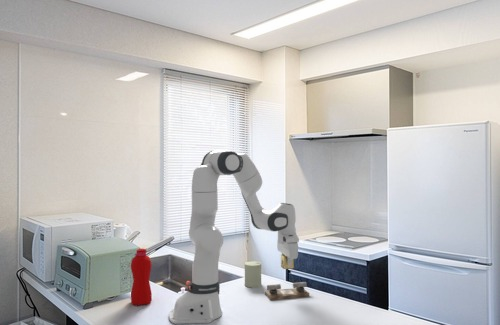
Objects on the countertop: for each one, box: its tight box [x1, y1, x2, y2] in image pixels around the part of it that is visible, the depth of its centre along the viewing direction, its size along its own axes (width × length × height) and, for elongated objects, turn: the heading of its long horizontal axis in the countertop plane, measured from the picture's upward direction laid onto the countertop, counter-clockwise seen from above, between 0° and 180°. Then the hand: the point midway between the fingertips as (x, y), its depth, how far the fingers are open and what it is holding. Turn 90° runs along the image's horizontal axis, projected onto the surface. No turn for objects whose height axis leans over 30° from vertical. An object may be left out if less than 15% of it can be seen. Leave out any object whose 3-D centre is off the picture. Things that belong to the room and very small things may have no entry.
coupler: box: [280, 254, 295, 270], centre depth 189 cm, size 5×4×6 cm
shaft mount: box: [264, 281, 310, 301], centre depth 189 cm, size 20×9×6 cm, turn 104°
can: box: [244, 260, 263, 289], centre depth 205 cm, size 9×9×12 cm
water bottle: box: [126, 248, 153, 306], centre depth 180 cm, size 9×11×25 cm
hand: (287, 263), depth 189 cm, fingers closed on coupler, 4 cm apart
